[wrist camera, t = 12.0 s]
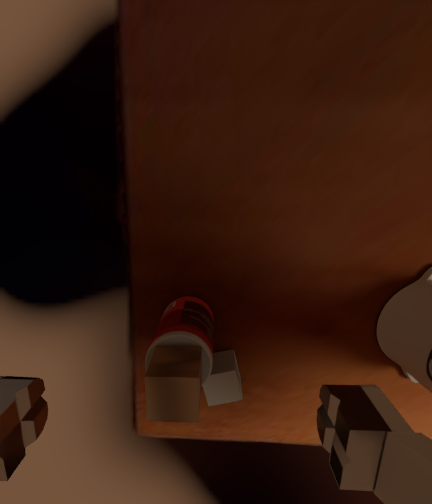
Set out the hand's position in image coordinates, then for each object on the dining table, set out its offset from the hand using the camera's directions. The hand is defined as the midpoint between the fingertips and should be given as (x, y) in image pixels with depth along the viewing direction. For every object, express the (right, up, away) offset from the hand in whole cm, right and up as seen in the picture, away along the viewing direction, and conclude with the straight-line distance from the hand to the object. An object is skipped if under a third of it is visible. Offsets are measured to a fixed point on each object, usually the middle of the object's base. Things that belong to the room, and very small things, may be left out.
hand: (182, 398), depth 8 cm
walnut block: (-3, -8, +23) cm, 25 cm away
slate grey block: (+2, -14, +36) cm, 38 cm away
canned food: (-3, -6, +34) cm, 34 cm away
